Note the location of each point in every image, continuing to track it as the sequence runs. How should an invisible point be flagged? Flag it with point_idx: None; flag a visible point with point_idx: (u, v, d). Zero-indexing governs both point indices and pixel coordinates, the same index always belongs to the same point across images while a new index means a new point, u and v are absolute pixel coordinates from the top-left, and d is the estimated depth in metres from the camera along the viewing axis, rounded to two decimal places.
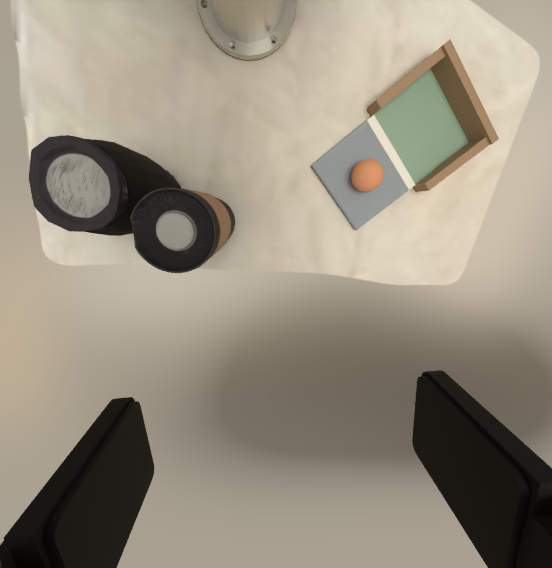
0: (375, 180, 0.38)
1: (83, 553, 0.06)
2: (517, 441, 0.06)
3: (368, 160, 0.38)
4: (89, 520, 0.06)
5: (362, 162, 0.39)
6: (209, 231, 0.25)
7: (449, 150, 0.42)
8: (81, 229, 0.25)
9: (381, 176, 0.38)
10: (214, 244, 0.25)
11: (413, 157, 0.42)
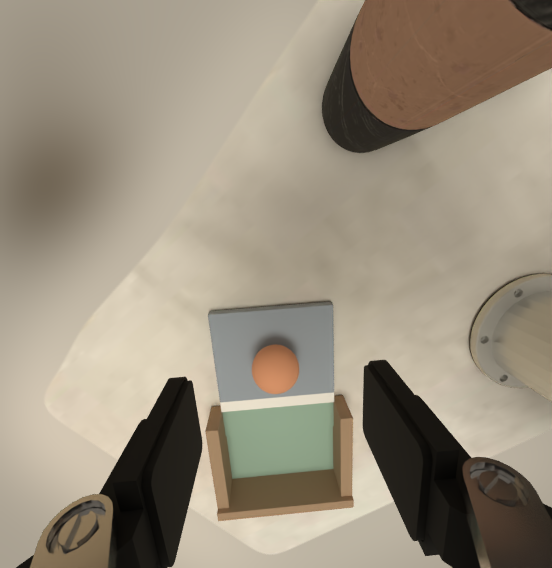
0: (266, 380, 0.24)
1: (166, 504, 0.07)
2: (430, 418, 0.07)
3: (295, 381, 0.25)
4: (168, 477, 0.07)
5: (298, 373, 0.25)
6: None
7: (236, 458, 0.32)
8: None
9: (265, 389, 0.24)
10: None
11: (256, 421, 0.30)
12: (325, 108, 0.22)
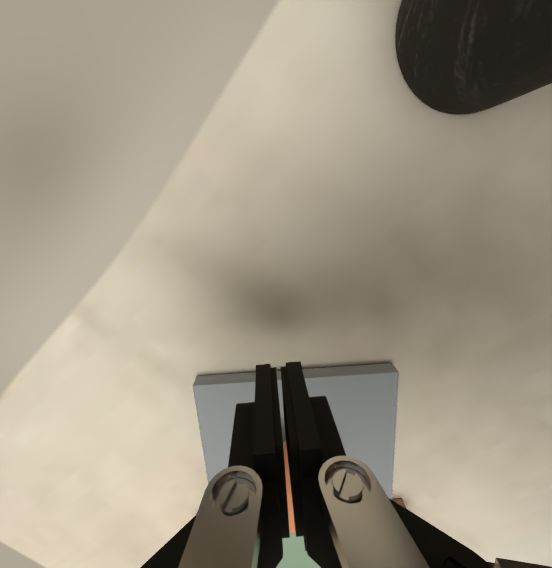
0: None
1: None
2: (311, 418, 0.07)
3: None
4: None
5: None
6: None
7: None
8: None
9: None
10: None
11: None
12: (409, 22, 0.11)
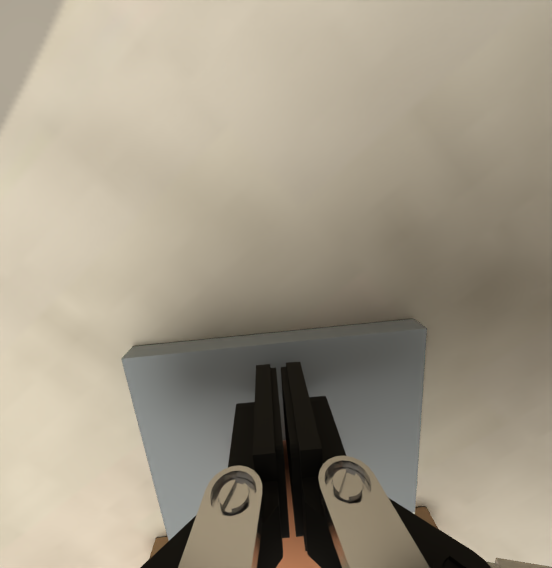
0: None
1: None
2: (311, 418, 0.07)
3: None
4: None
5: None
6: None
7: None
8: None
9: None
10: None
11: None
12: None
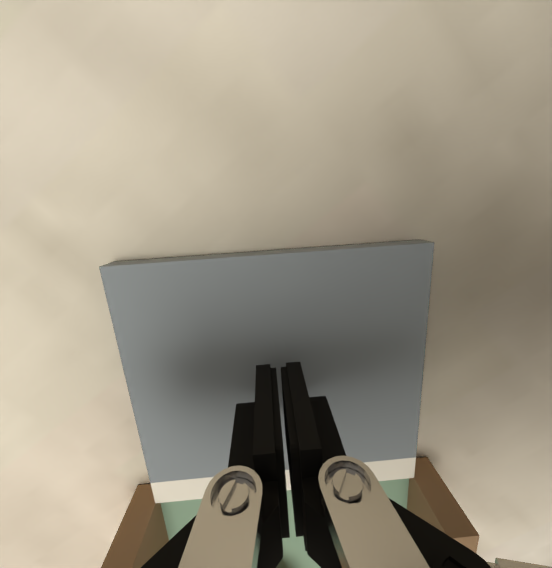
0: None
1: None
2: (310, 418, 0.07)
3: None
4: None
5: None
6: None
7: None
8: None
9: None
10: None
11: None
12: None
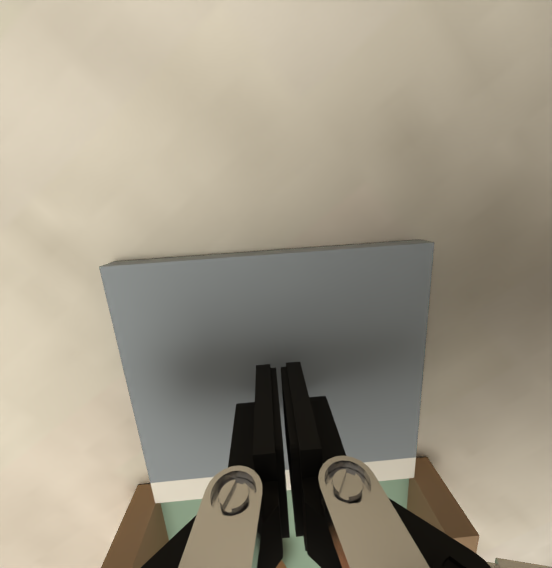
0: None
1: None
2: (310, 418, 0.07)
3: None
4: None
5: None
6: None
7: None
8: None
9: None
10: None
11: None
12: None
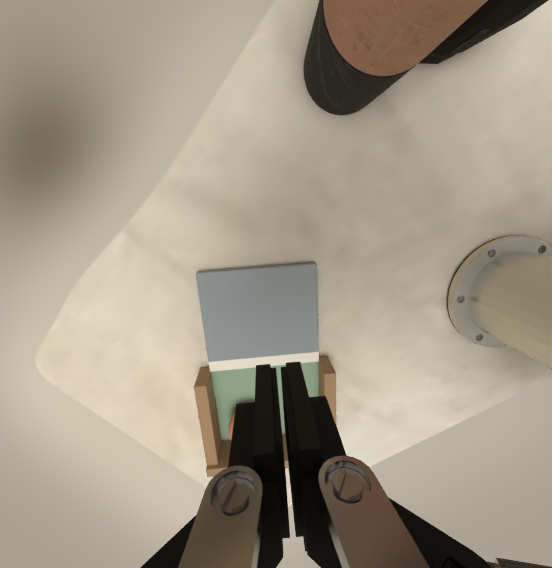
0: None
1: None
2: (310, 418, 0.07)
3: None
4: None
5: None
6: None
7: (225, 419, 0.33)
8: None
9: None
10: None
11: (243, 381, 0.31)
12: (306, 68, 0.23)
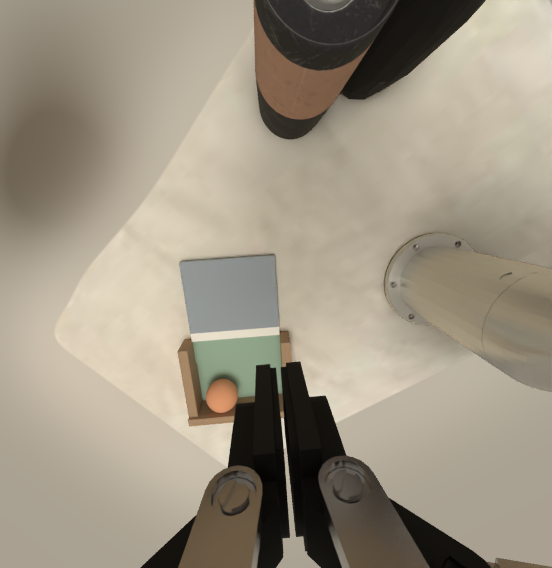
0: (210, 406, 0.37)
1: None
2: (310, 418, 0.07)
3: (232, 406, 0.38)
4: None
5: (233, 401, 0.38)
6: (293, 25, 0.14)
7: (205, 382, 0.41)
8: None
9: None
10: (270, 10, 0.13)
11: (219, 350, 0.39)
12: (259, 106, 0.30)
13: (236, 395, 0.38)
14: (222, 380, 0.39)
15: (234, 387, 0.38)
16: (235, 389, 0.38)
